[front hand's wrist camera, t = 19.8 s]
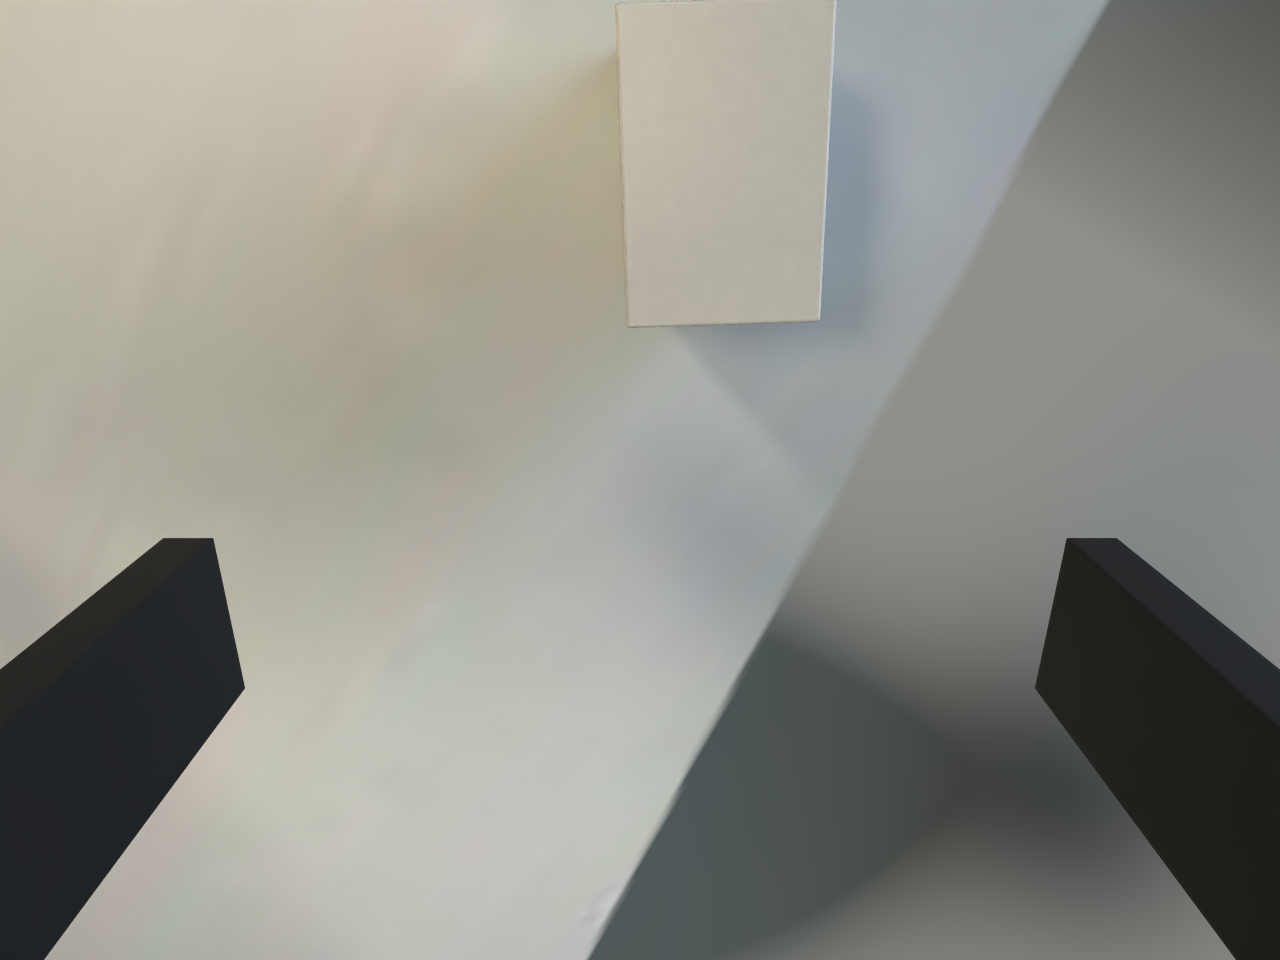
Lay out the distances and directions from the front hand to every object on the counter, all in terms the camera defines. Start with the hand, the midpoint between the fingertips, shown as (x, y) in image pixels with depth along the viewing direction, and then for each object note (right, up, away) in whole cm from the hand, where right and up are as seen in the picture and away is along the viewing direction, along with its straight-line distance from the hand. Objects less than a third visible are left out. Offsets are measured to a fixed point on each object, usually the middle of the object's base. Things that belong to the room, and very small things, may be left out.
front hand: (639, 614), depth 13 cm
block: (+2, +13, +16) cm, 21 cm away
